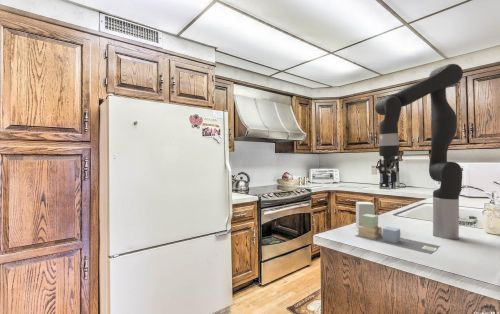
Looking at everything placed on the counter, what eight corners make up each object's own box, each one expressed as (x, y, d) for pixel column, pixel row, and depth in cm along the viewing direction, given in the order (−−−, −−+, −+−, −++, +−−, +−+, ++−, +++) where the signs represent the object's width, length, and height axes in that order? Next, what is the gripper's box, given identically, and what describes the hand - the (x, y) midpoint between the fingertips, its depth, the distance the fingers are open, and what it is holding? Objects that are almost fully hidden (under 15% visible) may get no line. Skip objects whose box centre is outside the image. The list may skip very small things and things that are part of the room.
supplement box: (374, 230, 127) (375, 204, 126) (358, 230, 128) (358, 203, 128) (371, 226, 134) (371, 201, 134) (355, 226, 135) (355, 201, 135)
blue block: (387, 237, 114) (387, 226, 114) (400, 240, 111) (400, 228, 111) (382, 240, 111) (382, 228, 111) (395, 243, 107) (395, 231, 107)
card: (424, 246, 104) (424, 245, 104) (436, 249, 101) (436, 248, 101) (421, 248, 101) (421, 247, 101) (433, 251, 98) (433, 250, 98)
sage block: (366, 224, 121) (366, 213, 121) (378, 226, 117) (378, 215, 117) (361, 226, 118) (361, 215, 118) (373, 228, 114) (373, 217, 114)
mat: (366, 231, 126) (366, 230, 126) (440, 247, 104) (440, 246, 104) (354, 236, 117) (354, 235, 117) (431, 255, 96) (431, 254, 96)
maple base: (365, 232, 123) (365, 223, 123) (381, 235, 117) (381, 226, 117) (358, 235, 118) (358, 226, 118) (374, 239, 113) (374, 229, 113)
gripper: (391, 144, 105) (392, 185, 105) (404, 144, 114) (405, 182, 114) (372, 145, 110) (373, 184, 111) (386, 145, 120) (387, 181, 120)
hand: (389, 183), depth 112 cm, fingers open, 8 cm apart
